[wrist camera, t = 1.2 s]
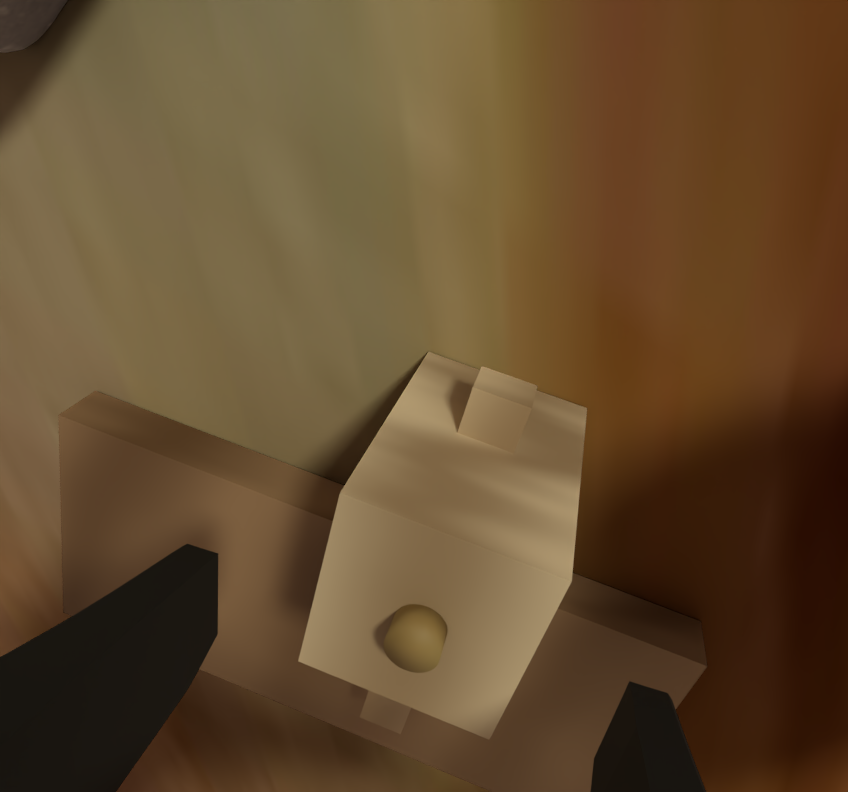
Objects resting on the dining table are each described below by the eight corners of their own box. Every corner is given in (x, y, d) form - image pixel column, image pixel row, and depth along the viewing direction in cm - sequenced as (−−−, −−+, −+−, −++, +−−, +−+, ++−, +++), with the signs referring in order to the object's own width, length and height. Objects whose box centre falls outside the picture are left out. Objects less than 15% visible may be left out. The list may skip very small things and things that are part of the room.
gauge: (604, 368, 15) (596, 556, 10) (470, 666, 21) (414, 899, 15) (440, 310, 16) (339, 459, 10) (349, 618, 21) (251, 827, 15)
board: (700, 621, 18) (707, 666, 17) (588, 784, 22) (586, 831, 21) (95, 390, 20) (58, 414, 18) (93, 581, 24) (63, 612, 22)
